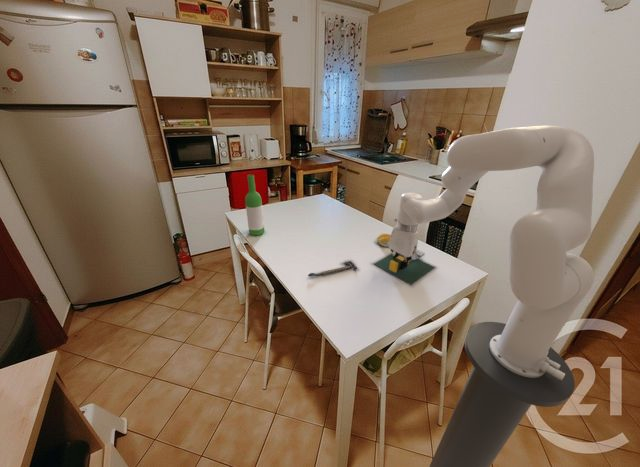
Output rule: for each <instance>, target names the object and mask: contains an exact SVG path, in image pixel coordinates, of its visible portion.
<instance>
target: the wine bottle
mask: <svg viewBox="0 0 640 467" xmlns="http://www.w3.org/2000/svg"><path fill="white" fill-rule="evenodd" d="M247 182H248V183H247V184H248V185H247V186H248V192H247V194H246V195H245V198H244V202H245V209H246V210H245V212H246V218H247V219H246V220H247V226H248V231H249V232H248V233H249V234H250V235H251V236H261V235H263V234H264V233H265V220H264V211H263V201H262V196H261V195H260V193H259V192H257V191H256V182H255V175H254V174H248V175H247Z"/></svg>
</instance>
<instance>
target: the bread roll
mask: <svg viewBox="0 0 640 467" xmlns="http://www.w3.org/2000/svg"><path fill="white" fill-rule="evenodd" d="M390 236H391V234H390V233H381V234H379V235H378V236H377V237H376V242H377V244H378V245H380V246H382V247H386V248H387V247H388V246H387V245H388V244H389V240H390ZM388 248H389V247H388Z"/></svg>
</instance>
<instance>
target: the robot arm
mask: <svg viewBox="0 0 640 467" xmlns="http://www.w3.org/2000/svg"><path fill="white" fill-rule="evenodd" d="M594 153H595V152H594V150H593V146H592V144H591V143H590V141H589V139H588V138H587V137H586V136H585V135H584V134H582V133H581V132H580V131H577V130H575V129H573V128H569V127H565V126H561V125H533V126H518V127H509V128H503V129H499V130H491V131H488V132H481V133H475V134H469V135H463V136H461V137H458V138H457V139H455V140H454V141H453V142H452V143H451V144H450V146H449V148H448V149H447V153H446V162H447V165H448V167H447V168H446V169H445V171H443V173H442V174H441V176H440V177H441V178H440V179H441V183H442V185H443V186H444V188H445V190H444V191H443V192H442V193H440V195H439V196H438V197H435V198H429V199H424V198H423V196H422V195H421V194H419V193H417V192H404V193H402V195H401V196H400V199H399V200H400V201H399V206H398V211H397V212H398V213H397V217H396V218H395V219H394V220H393V221H394V222H395V223H396V224H395V225H394V226H393V228H392V230H391V233H390V235H391V236H390V240H389V244H388V245H387V246H388V249H389V250H390V252H391V254H392V255H393V259H394V258H396V257H398V256H399V254H401V255H404V260H403V261H402V264H401V269H404V268H406V267H407V265H408V261H409V260H414V259H419V257H418V256H417V253H416V250H418V242H419V231H418V225H419V224H420V225H423V224H428V223H430V222H435V221H439V220H443V219H446V218H447V217H449V216H450V215H451V214H452V213H454V212H455V211H456V210H457V209H458V208H459V207H460V206H462V205H463V203H464V202H465V199H466V196H467V192H468V191H469V190H470V189H471V188H472V187H473V186H474V185H475V184H476V183H477V182H478V181H479V180H480V179H482V177H484V176H485V175H486V174H487V173H488V172H498V171H499V172H501V171H515V170H521V169H527V168H533V167H540V168H541V173H540V176H539V179H538V181H537V187H536V208H535V211H533V212H529V213H527V214H525V215H523V216H522V217H520V218H519V219H518V220H517V221H516V222H515V223H514V225H513V226H512V229H511V230H510V235H509V249H508V250H509V253H508V254H509V264H508V265H509V266H508V268H509V273H508V274H509V285H510V287H511V291H512V293H513V295H514V296H515V298H516V299H517V301H516V303H515V305H514V307H513V309H512V311H511V314H510V315H509V317H508V319H507V322H506V323H505V324H506V326H505V328H504V330H503V332H502V334H501V335H496V336H494V337H493V338H492V339H491V341H490V344H489V347H490V351H491V353H492V355H493V356H494V357H495V359H496V360H497V361H498V362H499V363H500V364H501V365H503V366H504V367H505V368H507V369H508V370H510V371H512V372H514V373H516V374H518V375H521V376H524V377H529V378H537V377H540V376H542V375H543V374H544V373H545V371H546V372H548V373H550V374H551V375H552V376H554V377H556V378H557V379H559V380H561V381H562V379H563V378H564V376H565V373H563V372H561V371H559V370H558V369H559V368H560V366H561V365H559V364H558V363H556V362H553V361H552V360H550V359H549V358H548V357H547V354H548V350H549V349H550V347H551V348H552V346H553V344H554V342H555V341H556V340H557V338H558V336H559V334H560V332H561V331H562V329H563V327H565V325H566V323H567V322H568V320H569V318H571V316H572V314H573V312H574V311H575V310H576V309H577V307H578V306H579V305H580V303H582V300H583V299H584V298H585V297H586V296H587V294H588V293H589V292H590V291H591V289H592V287H593V284H594V281H595V274H594V270H593V267H592V266H591V265H590V263H589V262H588V261H587V260H585V258H582V256H579V255H577V254H574V253H570V252H568V251H571V250H574V249H576V248H577V247H580V246H582V245H583V244H584V243H586V242H587V241H588V239H589V238H590V237H591V236H590V235H591V232H592V217H593V216H592V215H593V214H592V213H593V195H594V194H593V190H594V188H593V187H594V186H593V185H594V173H595V172H594V170H595V154H594ZM398 253H399V254H398ZM411 255H413V256H411ZM550 365H551V366H552V367H551V366H550ZM553 367H554V368H553Z"/></svg>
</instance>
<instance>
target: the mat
mask: <svg viewBox="0 0 640 467" xmlns="http://www.w3.org/2000/svg"><path fill="white" fill-rule="evenodd" d="M398 254H399V253H398ZM399 255H401V254H399ZM392 259H393V255H392V253H390V254H388V255H386V256H385V257H383V258H381V259H380V260H378V261H376V262H375V263H373V265H374V266H376V267H378V268H380V269H382V270H383V271H385V272H387V273H389V274H391V275H392V276H394V277H396V278H397V279H400V280H401V281H402V282H403V281H404V282H405V283H406V284H409V285H410V286H411V285H413V284H415V283H416V282H417V281H418V280H420V279H421V278H422V277H424V276H425V275H426V274H428V273H429V272H431V271H432V270H433V269H435V266H433V265H431V264H430V263H427V262H425V261H423V260H421V259H420V258H417V259H414V260H411V261H410V262H409V264H408V265H407V267H406V268H404V269H400V270H399V271H397V272H393V271H391V270H389V266H390V261H391V260H392Z"/></svg>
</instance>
